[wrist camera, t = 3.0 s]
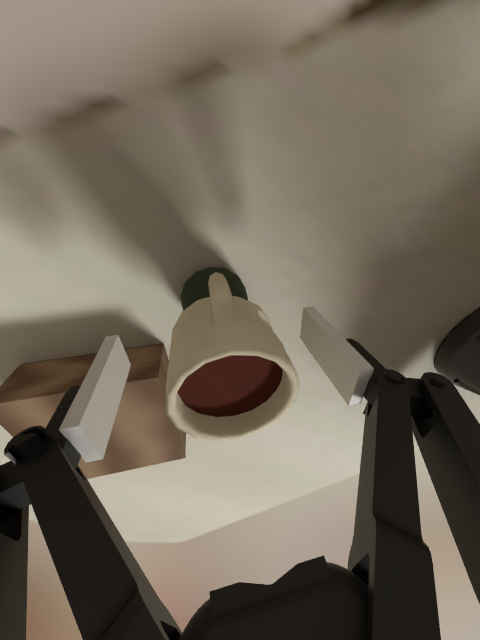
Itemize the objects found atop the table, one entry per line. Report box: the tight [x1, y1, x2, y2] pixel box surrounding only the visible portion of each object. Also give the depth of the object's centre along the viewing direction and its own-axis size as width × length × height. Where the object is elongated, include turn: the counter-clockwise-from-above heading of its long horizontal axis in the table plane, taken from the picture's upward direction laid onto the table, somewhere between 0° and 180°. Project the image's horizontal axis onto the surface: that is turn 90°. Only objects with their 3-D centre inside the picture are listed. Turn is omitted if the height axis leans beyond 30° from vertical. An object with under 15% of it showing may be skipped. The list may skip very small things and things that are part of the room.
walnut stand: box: [0, 344, 186, 479], centre depth 25 cm, size 14×14×5 cm
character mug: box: [166, 268, 299, 441], centre depth 17 cm, size 11×7×13 cm, turn 3°
